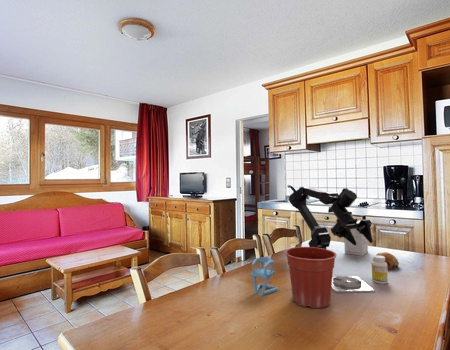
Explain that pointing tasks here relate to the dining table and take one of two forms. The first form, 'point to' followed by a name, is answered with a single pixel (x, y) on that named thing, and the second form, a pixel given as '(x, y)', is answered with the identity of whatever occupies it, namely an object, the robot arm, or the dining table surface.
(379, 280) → the supplement bottle
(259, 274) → the chair
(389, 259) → the bread roll
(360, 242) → the supplement box
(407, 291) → the dining table surface
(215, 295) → the dining table surface
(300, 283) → the flower pot
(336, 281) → the flange
